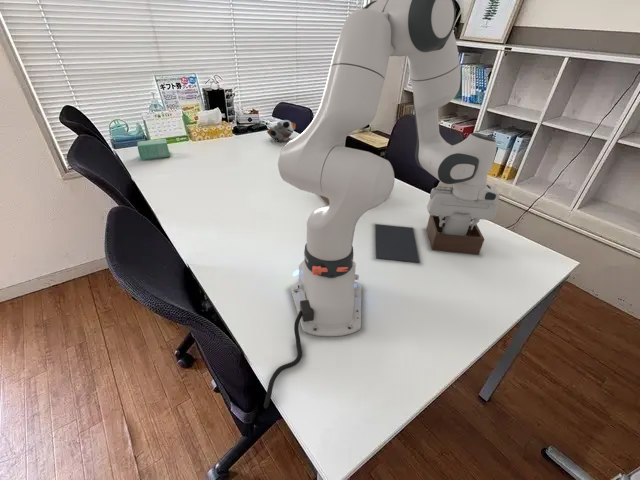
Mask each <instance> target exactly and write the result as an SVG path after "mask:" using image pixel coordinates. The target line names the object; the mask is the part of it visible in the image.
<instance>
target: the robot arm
mask: <svg viewBox="0 0 640 480" xmlns="http://www.w3.org/2000/svg"><path fill="white" fill-rule="evenodd" d="M456 13H457V12H456V4H455V0H373V1H371V2H369V3H368V4H365V6H363V7H362V8H360V9H357V10H355V11H353V12H351V13H350V14H349V15H348V17H346V19H345V21H344V23H343V25H342V28H341V30H340V33H339V35H338V38H337V41H336V44H335V47H334V51H333V54H332V58H331V62H330V66H329V70H328V75H327V78H326V83H325V86H324V90H323V94H322V97H321V102H320V104H319V107H318V110H317V111H316V113H315V115H314V117H313V119H312V121H311V122H310V123H309V125H307V127H306V128H305V129H304V130H303V132H301V133H299V135H298V136H296V137H294V138H293V139H291V140H289V141H288V142H287V143H286V144H285V145H284V146H283V147H282V148H281V151H280V153H279V156H278V160H277V169H278V171H279V176H280V178H281V179H282V181H284V182H286V183H287V184H289V185H291V186H292V187H294V188H296V189H298V190H300V191H303V192H307V193H311V194H314V195H318V196H320V195H321V196H324V197H326V198H328V199H329V202H330V205H328V204H327V205H324V206H320V207H319V208H316V209H315V210H313V211H312V212H311V214H310V215H309V216H308V218H307V220H306V243H305V245H304V249H303V256H304V259H303V260H302V262H300V263H299V264H298V269H297V270H295V271H294V272H293V273H292V276H293V277H295V276H297V278H298V279H297V283H296V284H294V285H292V286H291V288H290V292H291V293H290V294H291V296H292V299H293V303H294V306H295V310H296V313H297V316H296V318H295V321H294V326H293V330H294V338H295V345H296V350H297V354H296V355H297V356H296V358H295V359H293V360H292V361H290V362H288V363H284V364H282V365H280V366H278V368H276V370H274V372H273V374H272V375H271V377H270V379H269V381H268V385H267V389H266V394H265V398H264V403H263V408H264V409H268V408H269V406H270V402H271V398H272V393H273V389H274V384H275V381H276V380H277V378H278V376H279V375H280V374H281V372H283V371H285V370H287V369H291V368H293V367H295V366H296V365H298V364H299V363H300V361H301V359H302V357H303V350H302V345H301V337H300V331H299V326H300V327H301V330H302V331H303V332H304V333H307V334H309V335H311V336H312V335H313V336H316V337H317V336H318V337H341V336H346V335H351V334H354V333H356V332H358V331H360V330H361V328H362V290H363V289H362V288H363V287H362V285H361V284H359V283H358V282H356V281H359V277H360V275H359V274H356V268H357V263H356V262H355V261H354V255H355V254H354V246H353V242H354V236H355V231H356V226H357V223H358V222H359V220H360V218H361V217H362V216H363V215H364V214H365V213H366V212H368V211H370V210H372V209H374V208H377V207H379V206H380V205H382V204H383V203H385V202H386V201H387V199H388V198H389V197H390V196H391V193H392V192H393V189H394V186H395V171H394V168H393V165H392V164H391V161H389V160H388V159H385V158H384V157H381V156H379V155H377V154H374V153H373V152H370V151H366V150H362V149H358V148H352V147H347V146H344V145H343V143H344V141H345V139H347V137H348V136H349V135H350V134H351V133H353V132H355V131H358V130H361V129H363V128H366V127H367V126H368V125H370V124H371V123H372V122H373V120H374V119H375V117H376V114H377V111H378V106H379V102H380V99H381V96H382V91H383V88H384V84H385V79H386V75H387V71H388V67H389V66H388V65H389V60H390V57H407V64H408V72H409V77H410V83H411V89H412V94H413V95H412V96H413V113H414V123H415V130H416V131H415V132H416V146H415V150H414V161H415V164H416V166H418V167H419V168H420V169H422V170H424V171H426V172H428V173H429V174H430V175H431V176H433V177H434V178H435V179H437V180H438V181H440V182H441V183H443V184H445V185H451V186H441V185H438V186H436V187H433V188H432V189H431V190H430V193H429V201H428V203H427V205H426V206H427V207H426V210H427V212H428V214H429V216H430V215H437V216H438V217H439V219H440V223H439V226H440V227H445V224H446V223H445V221H444V220H442V218H444V216H451V215H453V214H454V213H457V214H460V215H468V214H470V215H469V216H470V217H471V218H472V219H473V220H472V221H471V222H470V225H469V228H468V230H472V229H473V226H474V225H476V224H477V225H478V223H480V221H481V220H485V221H492V220H494V219H495V218H496V215H497V213H498V209H499V202H498V200H499V199H500V197H501V195H500V193H499V191H498V190H497V189H496V187H495V186H493V185H492V184H489V183H487V182H488V174H489V173H490V172H491V170H492V167H493V164H494V162H495V159H496V158H495V157H496V154H497V148H498V143H497V141H496V139H494V138H493V137H492V136H489V135H487V134H483V133H479V132H471V133H469V134H468V136H466V138H465V139H463V140H462V141H460V142H458V143H456V144H453V145H452V144H450V143H449V142H447V141H446V140H445V139H444V138H443V137H442V135H441V133H440V120H439V119H440V118H439V109H440V108H442V107H444V106H445V105H448V104H449V103H451V101H452V100H454V98H455V97H456V96H457V94H458V92H459V91H460V87H461V77H462V75H461V64H460V56H459V55H460V54H459V49H458V44H457V39H456V36H455V33H454V27H455V23H456V17H457V15H456ZM321 196H320V197H321ZM299 324H300V325H299Z"/></svg>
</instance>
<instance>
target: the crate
mask: <svg viewBox="0 0 640 480" xmlns="http://www.w3.org/2000/svg"><path fill="white" fill-rule="evenodd" d="M445 218H446V216H444V218H442V220H444V221H445ZM472 220H473V219H471V221H472ZM439 223H440V219H439V217H438V215H430V214H429V216H428V221H427V225H426V229H425V230H426V231H425V232H426V234H427V239H428V241H429V246H430V249H431V251H436V252H437V251H438V252H448V253H458V254H466V255H467V254H468V255H477V256H478V255H480V252H481V250H482V247H483V244H484V242H485V237H484V236H483V234H482V232H481V230H480V228H479V225H478V223H477V224H476V225H474V226H473V229H472V230H468V231H467V234H466V236H459V235H449V234H441V232H442V229H443V227H440V226H439Z"/></svg>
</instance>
